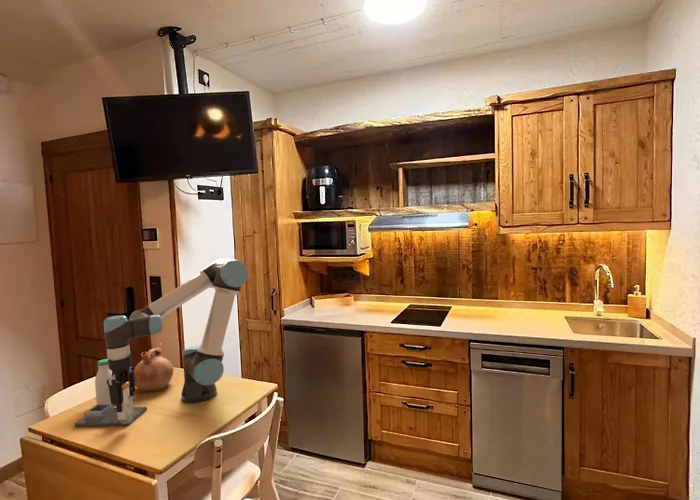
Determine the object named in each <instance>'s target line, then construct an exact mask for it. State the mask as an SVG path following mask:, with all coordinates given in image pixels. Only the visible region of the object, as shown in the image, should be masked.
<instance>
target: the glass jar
mask: <svg viewBox="0 0 700 500" xmlns="http://www.w3.org/2000/svg"><path fill="white" fill-rule="evenodd" d="M117 383H120V382H117ZM129 385H130V383H129V381H127V382H124V384H123V385H122V388H123V402H124V403H125V412H126V419H125V420H120V422H121V424H127V423H129V422H131V421H132V420H133V419H132V411H131V402H130V393H129Z"/></svg>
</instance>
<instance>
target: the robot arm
mask: <svg viewBox="0 0 700 500" xmlns="http://www.w3.org/2000/svg"><path fill="white" fill-rule="evenodd" d="M248 276H249V275H248V268H247V266H246V265H245V263H244V262H242V261H241V260H238V259H234V258H228V257H227V258H226V257H223V258H219V259H217V260H215V261H213V262H212V263H210V264H209V265H207V266H206V267H204V268H202V269H201V270H200V271H199V274H197V275H195V276H193V277H192V278H191V279H189V280H187V281H186V282H184V283H182V284H181V285H179V286H178V287H176V288H174V289H173V290H171V291H169V292H168V293H165V295H163V296H161V297H160V298H158V299H157V300H155V301H153V302H151V303H150V304H148V305H147V306H145V307H143V308H142V309H138V310H134V311H133V312H132V313H131V314H130V316H129V319H128V318H127V316H126V315H122V314H121V315H114V316H109V317H107V318H105V319H104V321H103V332H104V333H103V334H104V340H105V348H106V356H107V357H106V358H107V359H109V360H108V367H109V369H110V370H111V371H112V378H111V379H110V380H107V384H108V386H109V393H110V400H111V404H112V405H113V404H116V409H117V414H118V420H125V419H126V412H125V403H124V402H123V388H122V385H123V384H124V382H127V381H129V383H130V385H129V393H130V402H131V411H132V413H133V412H134V411H133V407H134V404H133V403H134V402H133V400H132V397H135V395H136V394H135V392H136V386H135V378H134V369H135V366H131V365H132V357H131V355H130V354H131V348H130V340H132V339H138V338H144V337H149V336H154V335H156V334H157V335H158V334H160V333H162V331H163V320H162V318H164V317H165V316H166V315H168V314H170V313H172V312H173V311H174V310H176V309H178V308H179V307H181V306H183V305H184V304H185V303H187V302H189V301H190V300H192V299H194V298H195V297H196V296H198V295H200V294H201V293H203V292H204V291H206V290H208V289H214V291H215V292H214V296H213V299H212V303H211V306H210V311H209V314H208V318H207V322H206V326H205V330H204V333H203V337H202V342H201V344H197V345H191V346H188V347H185V348H184V349H183V350H182V362H183V363H182V364H183V377H184V382H183V386H182V389H181V390H182V391H181V395H180V396H181V400H182V401H183V402H185V403H189V404H190V403H193V404H194V403H200V402H204V401H207V400H210V399H212V398H213V397H215V396H216V395H217V392H218V391H217V385H216V383H217V382H218V381H220V379H221V378H222V377H223V374H224V370H225V368H224V364H223V361H224V356H225V355H224V354H225V352H224V351H223V345H224V341H225V337H226V333H227V329H228V325H229V321H230V317H231V313H232V310H233V306H234V301H235V298H236V295H238V294H239V293H240V291H241V289H242V286H243V285H244V284H245V283H246V282H247V280H248ZM118 382H120V383H118Z"/></svg>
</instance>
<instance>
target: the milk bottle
mask: <svg viewBox="0 0 700 500" xmlns="http://www.w3.org/2000/svg"><path fill="white" fill-rule="evenodd" d="M108 360H109V359H108V358H104V359H101V360H98V361H97V368H98V370H97V372H96V375H95V378H94V379H95V380H94V387H95V398H96V399H95V400H96V404H111V400H110V393H109V386H108V384H107V380H110V379H111V378H112V371H111V370H110V369H109V367H108Z"/></svg>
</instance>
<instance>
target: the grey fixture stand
mask: <svg viewBox="0 0 700 500" xmlns="http://www.w3.org/2000/svg"><path fill="white" fill-rule="evenodd" d="M132 400H133V403H134V402H135V401H136V400H137V396H132ZM133 411H134V412H133V413H132V419H133V420H132V421H131V422H129V423H127V424H121V422H120V420H118V414H117V409H116V404H113V405H112V404H97V403H96V404H95V405H93V406H92V407H91V408H89V409H87V410H86V411H85V412H84V416H83V417H81V418H79V419H78V420H77V421H76V422H74V423H73V425H74V428H90V427H91V428H92V427H93V428H95V427H97V428H98V427H102V428H103V427H129V426H130V425H132V424H133V423H134V422H135V421H136V420H137V419H138V418H140V417H141V416H142V415H143V414H144V413H146V412H147V411H148V407H147V406H133Z"/></svg>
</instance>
